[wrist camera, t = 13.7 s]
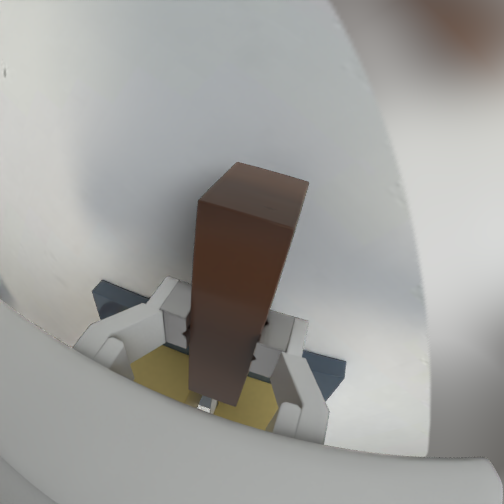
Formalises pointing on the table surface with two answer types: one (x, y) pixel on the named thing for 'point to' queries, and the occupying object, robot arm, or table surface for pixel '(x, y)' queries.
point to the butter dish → (120, 299)
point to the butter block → (166, 374)
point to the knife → (237, 273)
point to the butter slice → (251, 405)
